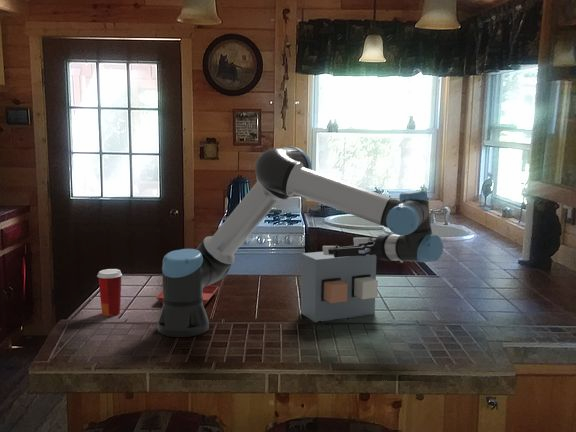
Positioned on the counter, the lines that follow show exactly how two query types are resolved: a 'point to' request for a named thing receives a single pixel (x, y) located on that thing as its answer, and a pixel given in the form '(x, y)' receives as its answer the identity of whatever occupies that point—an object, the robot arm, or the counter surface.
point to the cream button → (365, 287)
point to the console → (333, 269)
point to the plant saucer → (207, 294)
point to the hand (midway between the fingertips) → (339, 246)
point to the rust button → (335, 291)
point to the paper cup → (110, 291)
